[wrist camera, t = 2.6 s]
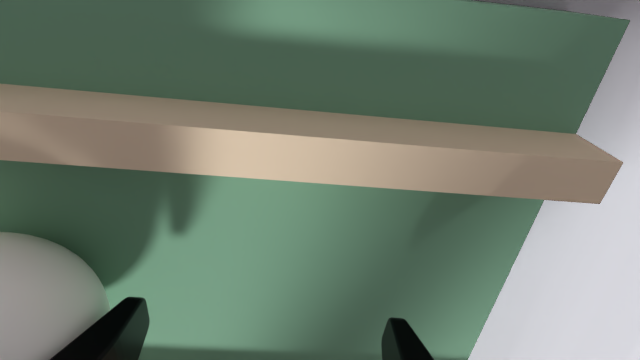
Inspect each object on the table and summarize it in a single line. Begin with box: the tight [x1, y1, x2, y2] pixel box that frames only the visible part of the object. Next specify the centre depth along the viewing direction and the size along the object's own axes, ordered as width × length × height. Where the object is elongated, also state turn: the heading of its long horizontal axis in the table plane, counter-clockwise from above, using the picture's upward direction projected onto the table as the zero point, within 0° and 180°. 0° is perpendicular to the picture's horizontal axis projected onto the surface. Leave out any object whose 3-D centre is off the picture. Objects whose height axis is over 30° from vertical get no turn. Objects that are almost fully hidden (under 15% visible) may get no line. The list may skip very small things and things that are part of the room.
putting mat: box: [0, 0, 630, 360], centre depth 10 cm, size 16×28×5 cm, turn 84°
